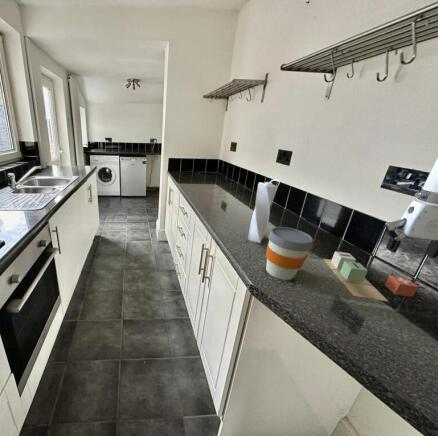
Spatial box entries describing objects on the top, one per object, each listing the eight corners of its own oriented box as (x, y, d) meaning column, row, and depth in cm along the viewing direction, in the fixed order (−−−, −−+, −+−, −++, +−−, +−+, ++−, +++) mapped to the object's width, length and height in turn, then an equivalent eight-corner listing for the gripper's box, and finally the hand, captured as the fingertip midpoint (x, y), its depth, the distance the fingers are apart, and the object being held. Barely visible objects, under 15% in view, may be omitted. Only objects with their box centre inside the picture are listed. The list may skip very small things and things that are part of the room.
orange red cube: (400, 289, 75) (406, 277, 73) (411, 298, 71) (418, 286, 69) (383, 286, 76) (389, 275, 74) (393, 296, 72) (400, 283, 70)
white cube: (344, 263, 87) (349, 253, 85) (351, 270, 83) (356, 259, 81) (330, 261, 88) (335, 251, 86) (336, 268, 84) (341, 257, 82)
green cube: (354, 274, 81) (359, 263, 79) (362, 282, 77) (368, 270, 75) (339, 272, 82) (344, 260, 80) (346, 279, 78) (351, 268, 76)
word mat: (348, 264, 89) (349, 262, 88) (387, 303, 69) (389, 301, 68) (321, 260, 90) (322, 258, 90) (352, 297, 71) (353, 295, 70)
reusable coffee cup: (268, 258, 90) (278, 223, 84) (305, 273, 82) (318, 235, 76) (254, 270, 82) (264, 233, 77) (293, 288, 74) (307, 247, 68)
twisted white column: (266, 239, 106) (281, 178, 96) (263, 245, 100) (279, 182, 90) (248, 234, 110) (261, 176, 100) (244, 240, 104) (258, 179, 94)
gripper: (410, 199, 61) (383, 254, 68) (495, 206, 57) (458, 264, 64) (391, 191, 68) (368, 243, 74) (465, 198, 64) (434, 251, 71)
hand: (409, 253), depth 69 cm, fingers open, 9 cm apart
